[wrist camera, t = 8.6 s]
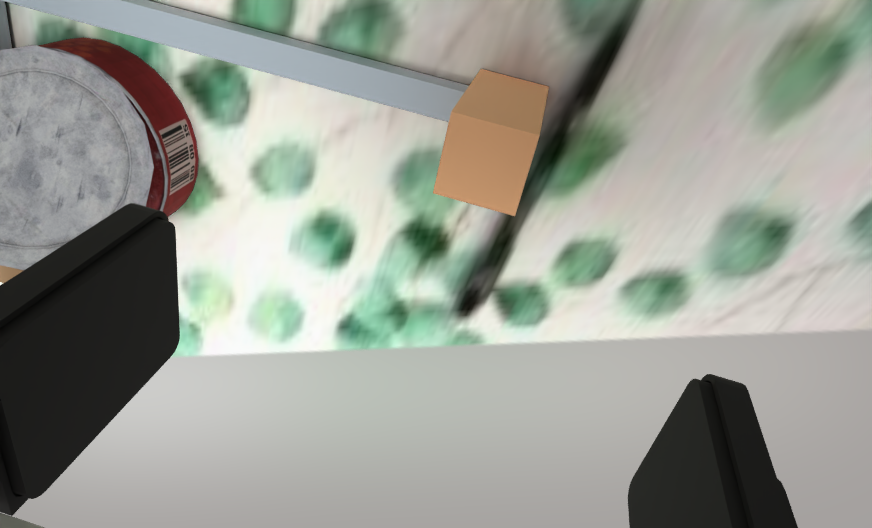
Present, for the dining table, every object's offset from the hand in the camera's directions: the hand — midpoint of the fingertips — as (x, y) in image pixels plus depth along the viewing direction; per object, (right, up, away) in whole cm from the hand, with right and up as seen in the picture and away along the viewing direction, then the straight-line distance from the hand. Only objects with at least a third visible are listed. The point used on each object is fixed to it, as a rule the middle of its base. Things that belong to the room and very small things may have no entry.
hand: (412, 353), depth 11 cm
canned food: (-16, +8, +21) cm, 28 cm away
